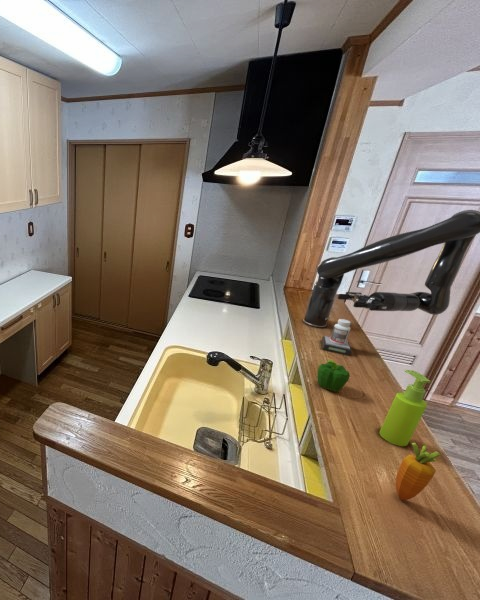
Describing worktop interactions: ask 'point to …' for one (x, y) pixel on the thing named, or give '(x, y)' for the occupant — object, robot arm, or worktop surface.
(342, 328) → the pill bottle
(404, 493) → the carrot
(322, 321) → the robot arm
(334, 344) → the scale
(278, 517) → the worktop surface
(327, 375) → the bell pepper
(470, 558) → the worktop surface
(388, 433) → the soap dispenser
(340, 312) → the worktop surface
